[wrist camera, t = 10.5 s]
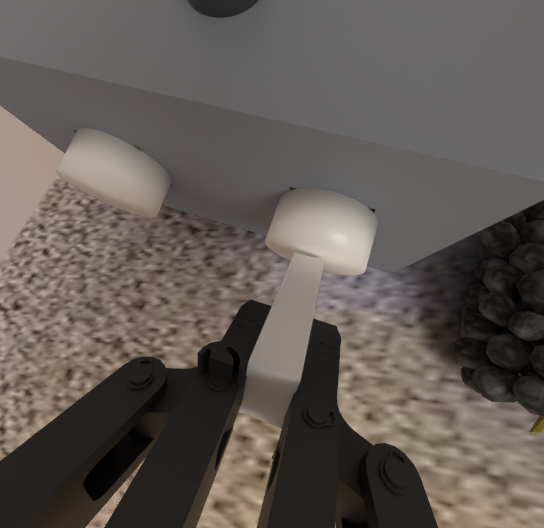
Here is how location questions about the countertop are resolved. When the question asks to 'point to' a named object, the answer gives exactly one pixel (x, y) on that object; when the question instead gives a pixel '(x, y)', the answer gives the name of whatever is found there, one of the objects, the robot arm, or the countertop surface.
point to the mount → (301, 104)
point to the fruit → (507, 315)
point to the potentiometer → (221, 7)
